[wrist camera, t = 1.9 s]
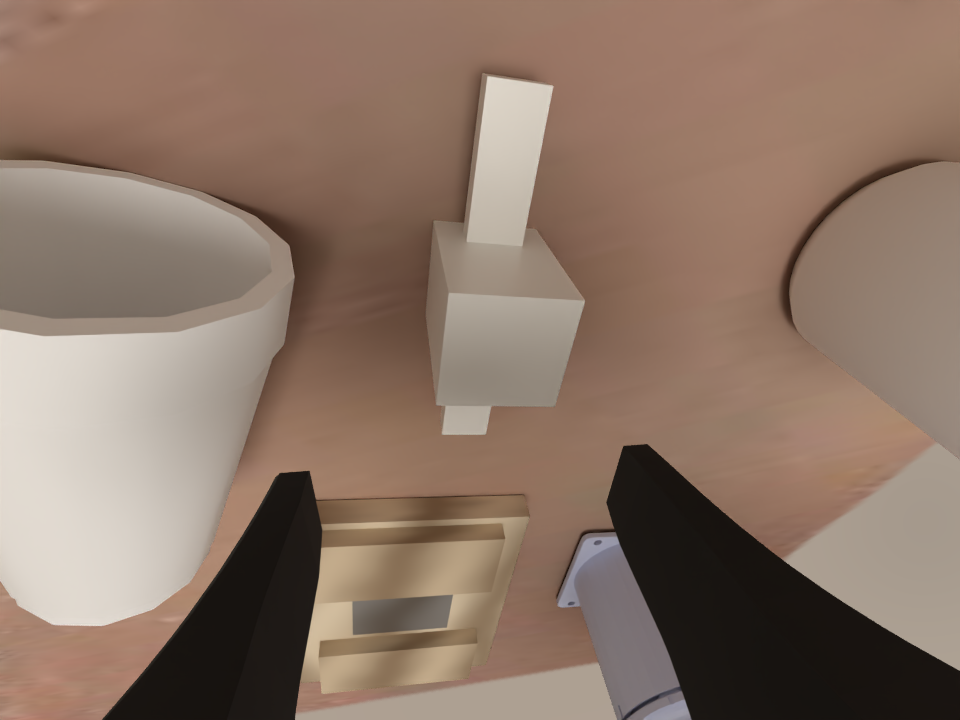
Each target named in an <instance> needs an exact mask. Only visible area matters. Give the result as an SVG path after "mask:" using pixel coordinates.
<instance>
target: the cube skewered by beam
mask: <svg viewBox="0 0 960 720" xmlns="http://www.w3.org/2000/svg"><path fill="white" fill-rule="evenodd" d="M552 90H553V86H552V85H550V84H547V83H545V82H539V81H532V80H525V79H519V78H512V77H505V76H499V75H492V74H485V73H482V79H481V88H480V96H479V104H478V112H477V121H476V129H475V137H474V145H473V154H472V162H471V170H470V178H469V187H468V195H467V203H466V211H465V219H464V223H460V222H448V221H437V220H434V221H433V232H432V244H431V256H430V267H429V279H428V290H427V302H426V323H427V331H428V340H429V349H430V357H431V366H432V375H433V383H434V392H435V401H436V405H439V406H442V409H441V417H440V422H441V431H442V435H486V431H487V426H488V421H489V415H490V410H491V406H527V407H555V405H556V401H557V398H558V394H559V391H560V387H561V384H562V380H563V377H564V373H565V370H566V366H567V363H568V359H569V356H570V352H571V349H572V345H573V342H574V338H575V335H576V331H577V328H578V324H579V321H580V317H581V314H582V310H583V307H584V303H585V300H584V298H583V297H582V295H581V294H580V292H579V291H578V290H577V288H576V287H575V285H574V284H573V282H572V281H571V279H570V278H569V276H568V275H567V274H566V272H565V271H564V269H563V268H562V266H561V265H560V263H559V262H558V260H557V259H556V258H555V256H554V255H553V253H552V252H551V250H550V249H549V247H548V246H547V244H546V243H545V242H544V240H543V239H542V237H541V236H540V234H539V233H538V231H537V230H536V229H529V228H526V224H527V219H528V214H529V209H530V204H531V199H532V193H533V188H534V183H535V178H536V173H537V168H538V162H539V157H540V152H541V147H542V142H543V137H544V131H545V126H546V121H547V116H548V111H549V106H550V100H551V95H552Z"/></svg>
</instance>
